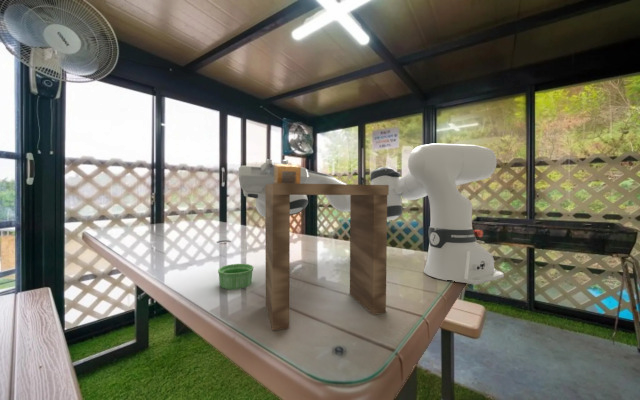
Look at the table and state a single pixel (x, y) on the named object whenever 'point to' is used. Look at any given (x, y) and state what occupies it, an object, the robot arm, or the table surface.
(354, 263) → the shelf
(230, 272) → the ramekin
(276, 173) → the recessed wooden block
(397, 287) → the table surface
